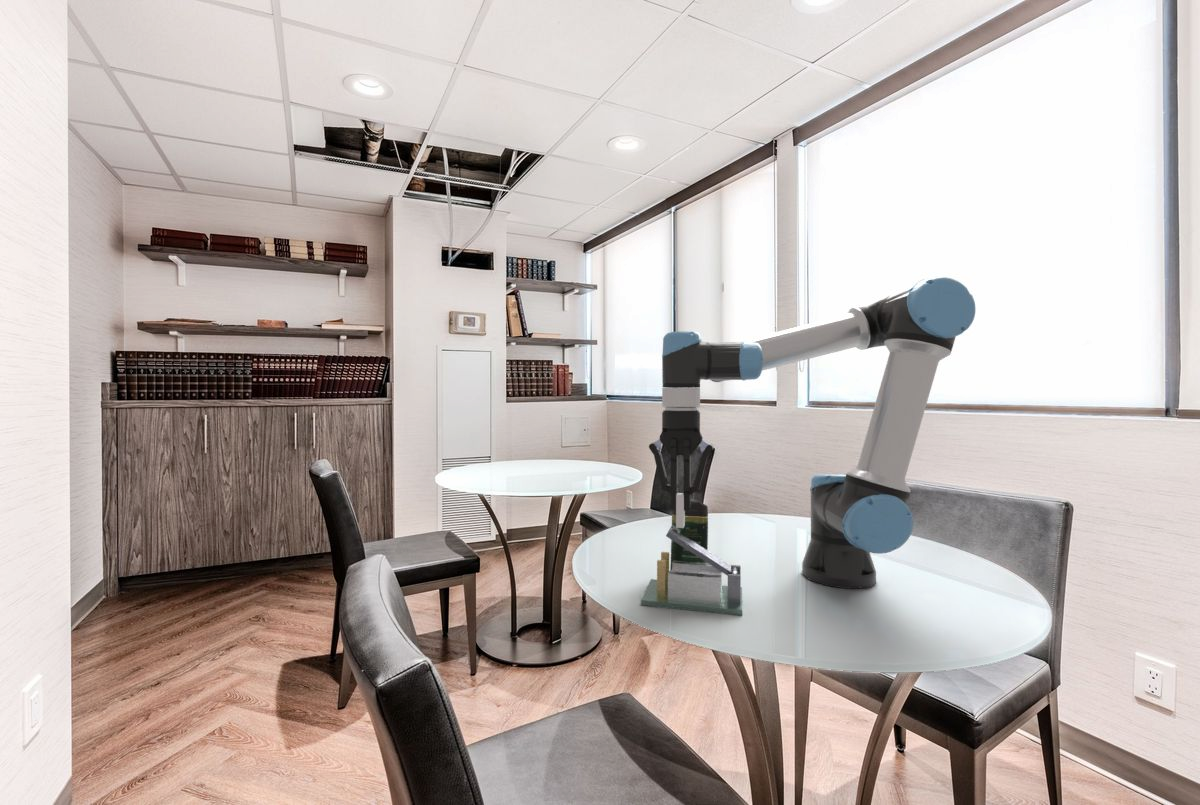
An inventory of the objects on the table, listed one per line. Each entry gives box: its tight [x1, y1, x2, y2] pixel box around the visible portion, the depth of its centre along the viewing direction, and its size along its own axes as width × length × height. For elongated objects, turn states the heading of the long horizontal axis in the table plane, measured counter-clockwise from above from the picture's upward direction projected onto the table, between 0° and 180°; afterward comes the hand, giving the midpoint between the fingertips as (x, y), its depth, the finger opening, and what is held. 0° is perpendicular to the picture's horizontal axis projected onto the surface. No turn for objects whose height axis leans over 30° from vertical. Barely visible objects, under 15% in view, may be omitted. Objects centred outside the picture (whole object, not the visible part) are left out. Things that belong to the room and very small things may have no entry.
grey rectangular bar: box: [665, 524, 732, 577], centre depth 106 cm, size 14×4×2 cm, turn 76°
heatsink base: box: [640, 551, 743, 616], centre depth 107 cm, size 19×12×8 cm, turn 75°
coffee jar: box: [669, 498, 709, 571], centre depth 117 cm, size 10×8×19 cm
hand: (680, 526), depth 107 cm, fingers closed
